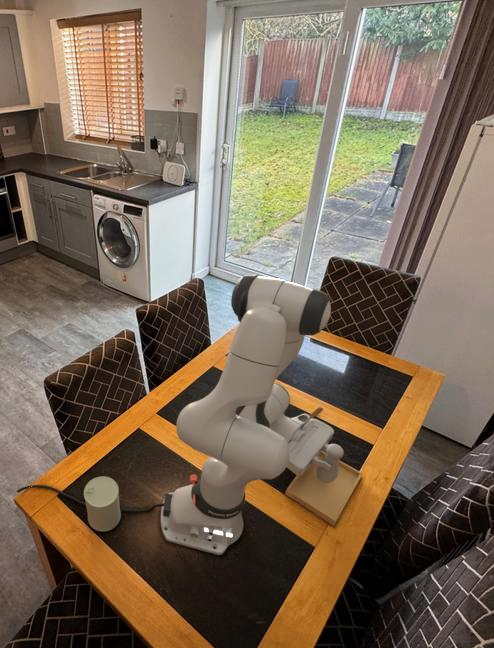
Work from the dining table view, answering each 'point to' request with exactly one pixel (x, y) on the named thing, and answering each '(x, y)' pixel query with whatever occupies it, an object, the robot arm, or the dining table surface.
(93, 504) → the can
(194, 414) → the robot arm
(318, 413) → the pan handle
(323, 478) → the salt shaker
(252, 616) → the dining table surface
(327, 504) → the tray
